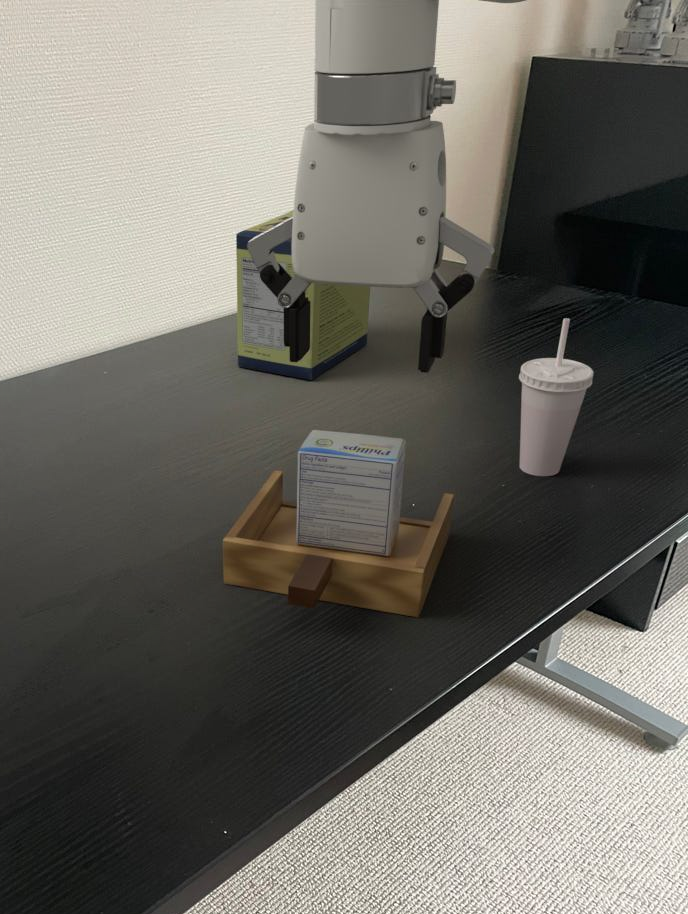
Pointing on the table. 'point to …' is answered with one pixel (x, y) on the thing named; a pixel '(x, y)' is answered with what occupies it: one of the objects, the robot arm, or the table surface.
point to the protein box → (262, 318)
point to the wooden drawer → (332, 558)
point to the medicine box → (349, 491)
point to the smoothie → (550, 408)
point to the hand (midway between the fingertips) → (361, 361)
